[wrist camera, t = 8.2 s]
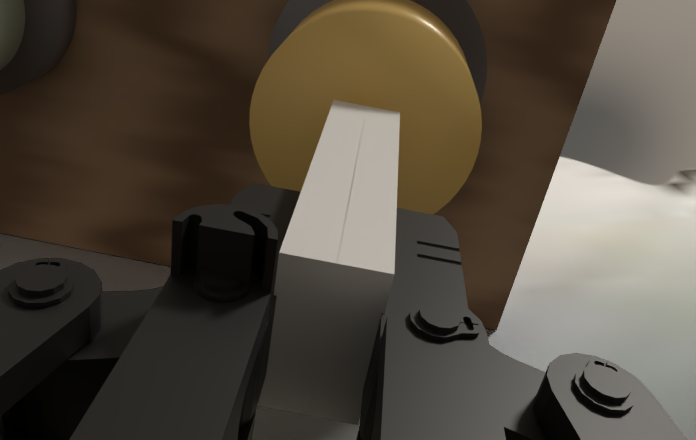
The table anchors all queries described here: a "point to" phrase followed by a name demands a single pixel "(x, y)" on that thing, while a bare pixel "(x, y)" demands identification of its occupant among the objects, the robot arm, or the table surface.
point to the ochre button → (371, 95)
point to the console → (234, 114)
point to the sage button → (10, 29)
